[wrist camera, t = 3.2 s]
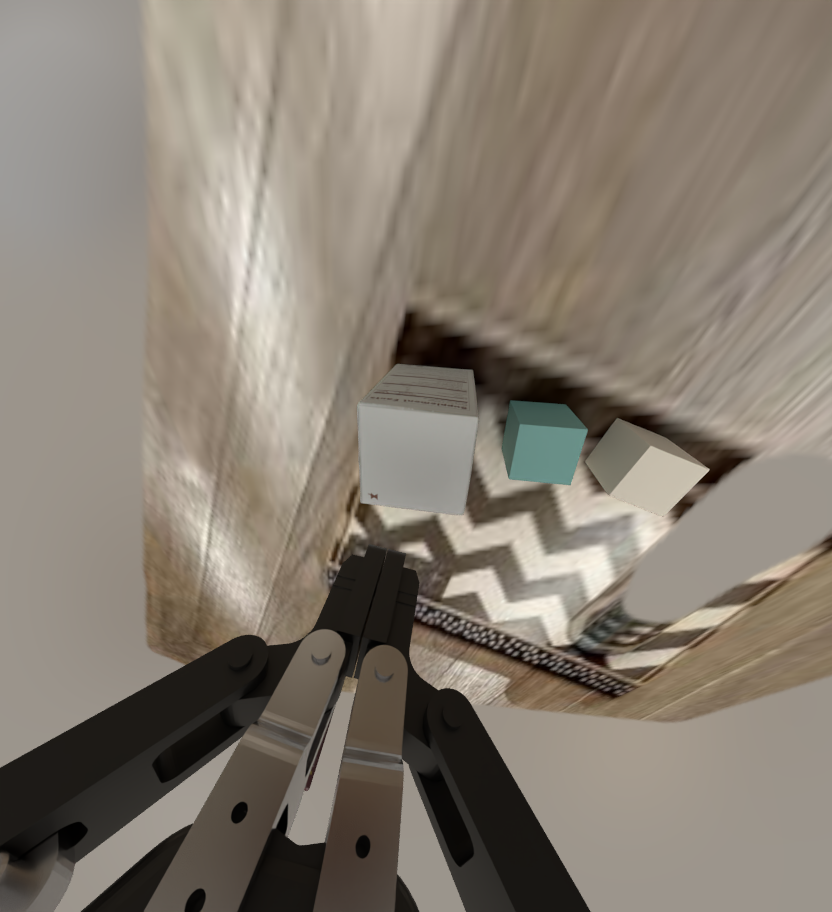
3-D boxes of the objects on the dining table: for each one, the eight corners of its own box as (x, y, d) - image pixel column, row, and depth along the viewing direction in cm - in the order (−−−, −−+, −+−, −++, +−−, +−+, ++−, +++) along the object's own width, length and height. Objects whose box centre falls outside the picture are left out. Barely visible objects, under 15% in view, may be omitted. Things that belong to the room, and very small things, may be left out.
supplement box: (464, 441, 32) (464, 521, 21) (393, 432, 33) (356, 505, 22) (475, 367, 29) (482, 417, 17) (395, 360, 29) (353, 402, 18)
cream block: (616, 417, 29) (650, 445, 24) (665, 437, 29) (709, 469, 24) (584, 461, 31) (608, 495, 26) (629, 479, 32) (663, 517, 26)
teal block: (510, 400, 30) (520, 424, 24) (565, 404, 29) (587, 429, 24) (501, 447, 32) (508, 479, 27) (552, 452, 31) (570, 485, 26)
